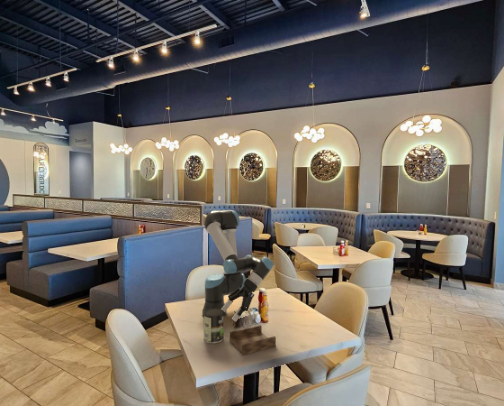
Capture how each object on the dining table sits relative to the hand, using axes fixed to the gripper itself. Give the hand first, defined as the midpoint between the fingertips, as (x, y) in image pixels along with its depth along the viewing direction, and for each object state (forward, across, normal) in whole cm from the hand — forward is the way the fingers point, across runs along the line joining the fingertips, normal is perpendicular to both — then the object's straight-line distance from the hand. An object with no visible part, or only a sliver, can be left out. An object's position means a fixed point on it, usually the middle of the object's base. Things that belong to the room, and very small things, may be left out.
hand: (228, 315), depth 155 cm
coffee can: (+14, +2, -3) cm, 14 cm away
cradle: (+3, -12, -14) cm, 18 cm away
